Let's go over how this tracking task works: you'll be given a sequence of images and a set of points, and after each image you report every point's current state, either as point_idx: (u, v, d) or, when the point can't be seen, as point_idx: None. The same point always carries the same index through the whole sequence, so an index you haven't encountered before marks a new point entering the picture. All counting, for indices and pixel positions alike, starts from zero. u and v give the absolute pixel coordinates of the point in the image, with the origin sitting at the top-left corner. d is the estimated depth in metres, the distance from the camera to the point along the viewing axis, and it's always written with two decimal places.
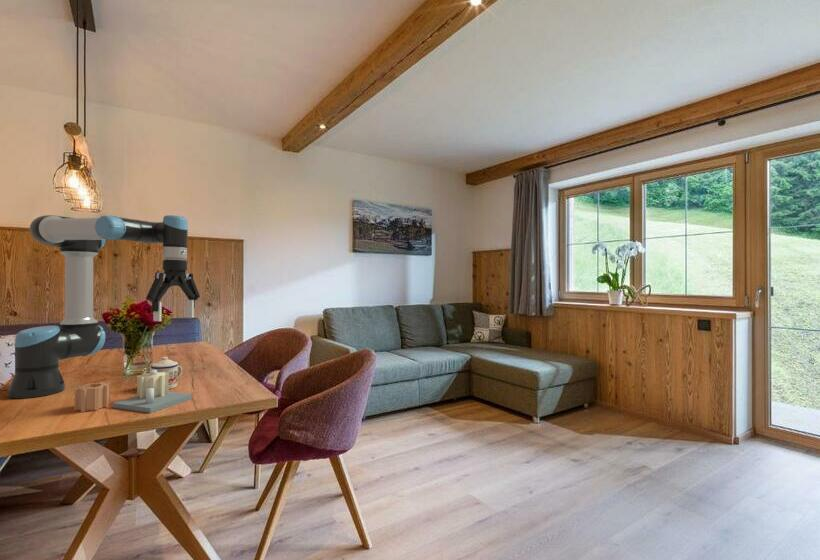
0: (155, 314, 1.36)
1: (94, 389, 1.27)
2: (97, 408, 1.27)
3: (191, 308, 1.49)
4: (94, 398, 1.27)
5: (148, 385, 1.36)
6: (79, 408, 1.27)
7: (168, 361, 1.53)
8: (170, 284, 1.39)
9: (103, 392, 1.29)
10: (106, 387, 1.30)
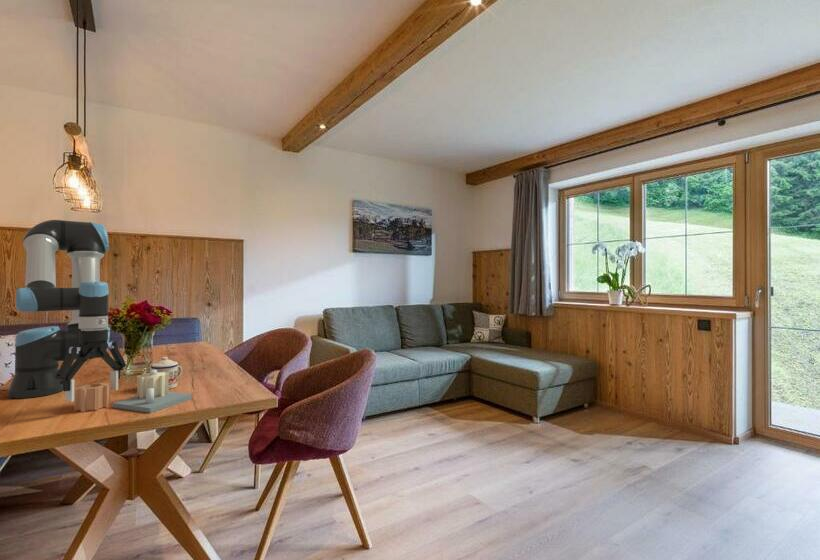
0: (67, 393, 1.23)
1: (94, 389, 1.27)
2: (97, 408, 1.27)
3: (115, 380, 1.35)
4: (94, 398, 1.27)
5: (148, 385, 1.36)
6: (79, 408, 1.27)
7: (168, 361, 1.53)
8: (86, 358, 1.26)
9: (103, 392, 1.29)
10: (106, 387, 1.30)
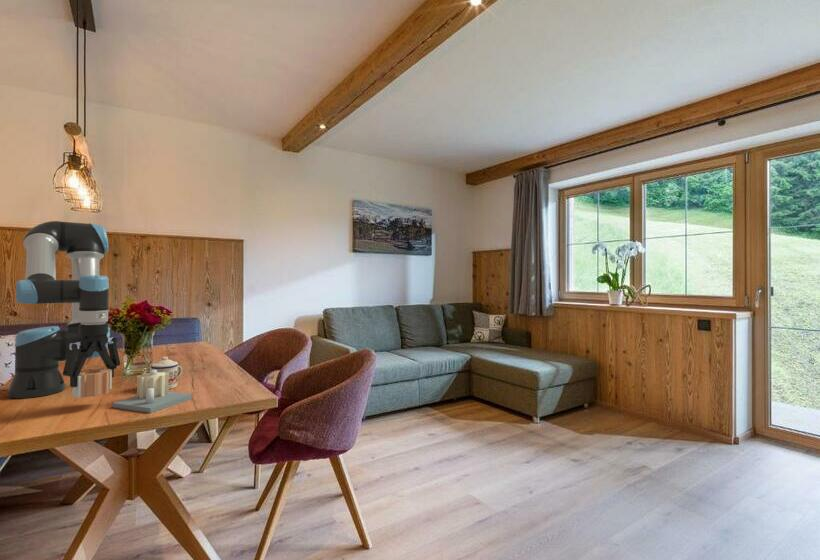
0: (74, 389, 1.26)
1: (94, 375, 1.27)
2: (97, 394, 1.28)
3: None
4: (93, 384, 1.27)
5: (148, 385, 1.36)
6: None
7: (168, 361, 1.53)
8: (88, 353, 1.27)
9: (103, 378, 1.30)
10: (106, 373, 1.30)
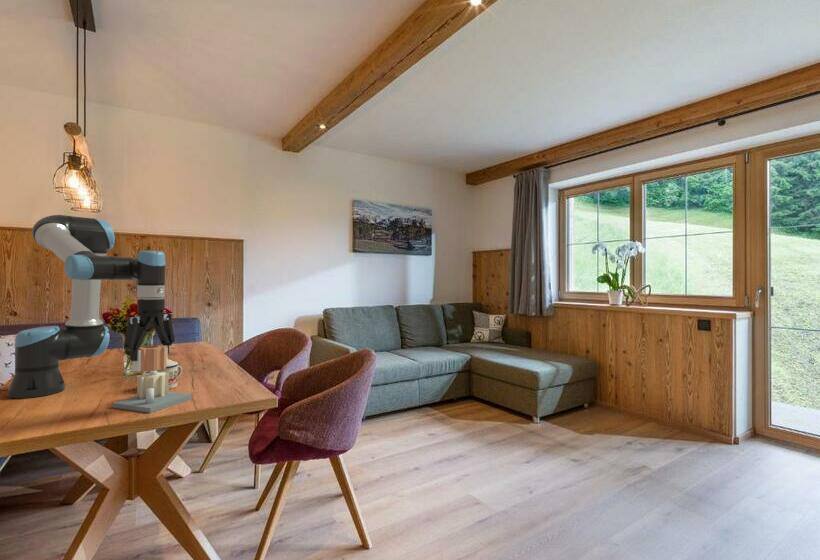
0: (133, 363, 1.26)
1: (153, 349, 1.28)
2: (156, 368, 1.28)
3: None
4: (152, 358, 1.28)
5: (148, 385, 1.36)
6: None
7: (168, 361, 1.53)
8: (147, 328, 1.27)
9: (161, 353, 1.30)
10: (163, 348, 1.31)
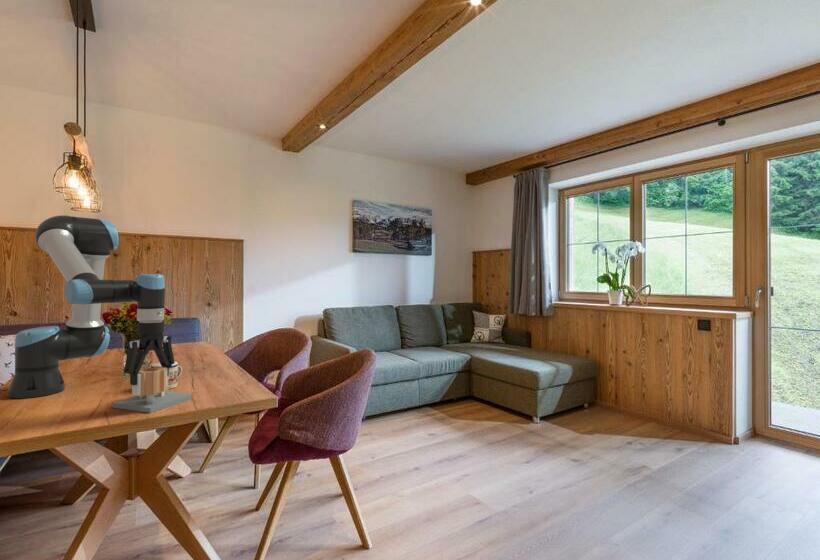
0: (133, 387, 1.26)
1: (153, 373, 1.28)
2: (156, 392, 1.28)
3: None
4: (152, 381, 1.28)
5: None
6: None
7: None
8: (146, 351, 1.27)
9: (160, 376, 1.30)
10: (163, 371, 1.31)
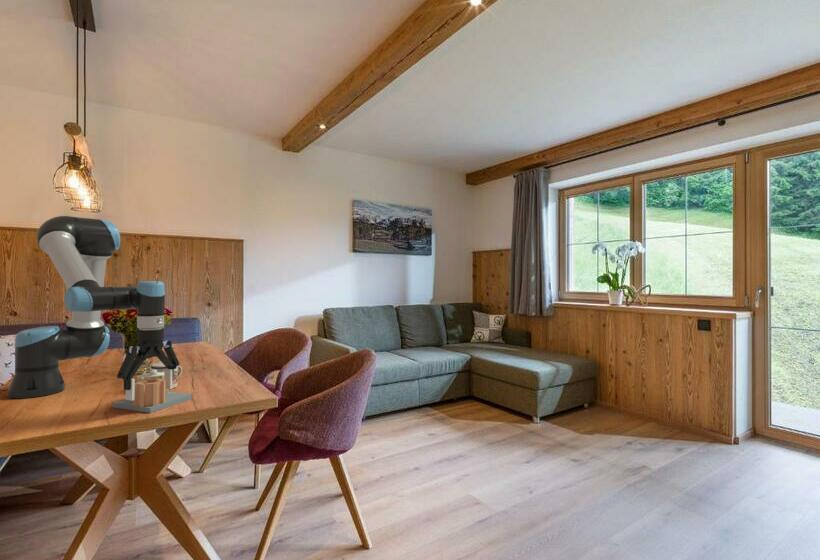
0: (127, 392, 1.24)
1: (152, 384, 1.28)
2: (155, 403, 1.28)
3: (169, 378, 1.36)
4: (152, 393, 1.28)
5: None
6: (138, 403, 1.27)
7: None
8: (144, 357, 1.27)
9: (160, 387, 1.30)
10: (163, 383, 1.31)
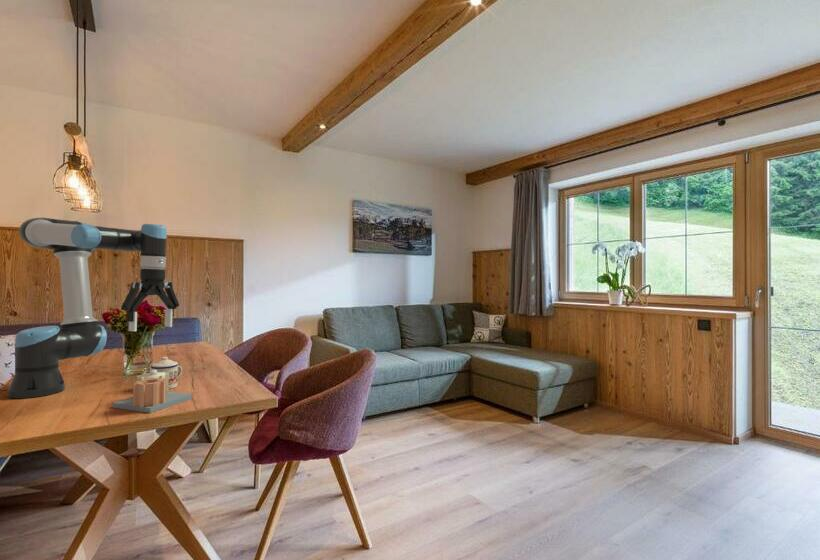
0: (130, 324, 1.35)
1: (152, 384, 1.28)
2: (155, 403, 1.28)
3: (170, 317, 1.47)
4: (152, 393, 1.28)
5: None
6: (138, 403, 1.27)
7: (168, 361, 1.53)
8: (147, 294, 1.38)
9: (160, 387, 1.30)
10: (163, 383, 1.31)
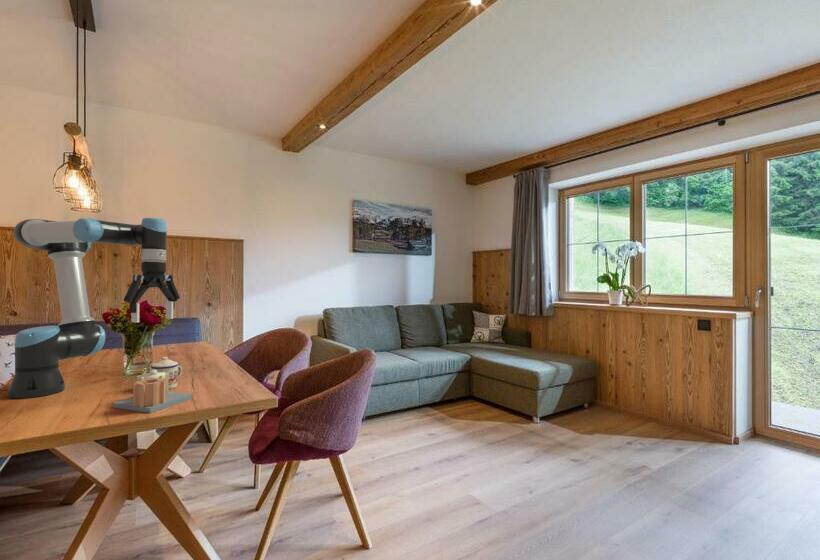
0: (132, 315, 1.38)
1: (152, 384, 1.28)
2: (155, 403, 1.28)
3: (170, 309, 1.50)
4: (152, 393, 1.28)
5: None
6: (138, 403, 1.27)
7: (168, 361, 1.53)
8: (148, 286, 1.41)
9: (160, 387, 1.30)
10: (163, 383, 1.31)
